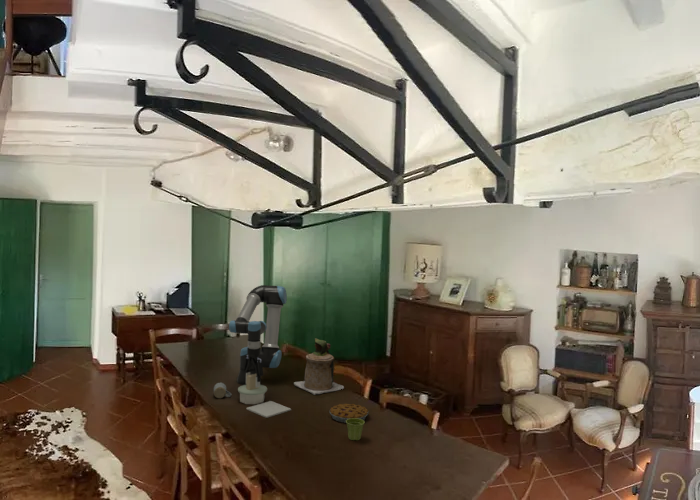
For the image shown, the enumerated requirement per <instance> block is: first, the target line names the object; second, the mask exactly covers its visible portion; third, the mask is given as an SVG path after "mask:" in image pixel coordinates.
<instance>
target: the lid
mask: <svg viewBox="0 0 700 500" xmlns="http://www.w3.org/2000/svg"><path fill="white" fill-rule="evenodd" d="M256 376H257V375H256V374H252V375H248V376H247V383H246V385H243V384H241V385H240V386H238V387H237V391H238V393H239V394H240V393H241V394H245V395H258V394H263V393H266V392H267V391H268V388H267V386H266V385H264V384H260V387H257V388H256V387H255V385H256Z"/></svg>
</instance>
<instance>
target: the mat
mask: <svg viewBox="0 0 700 500" xmlns="http://www.w3.org/2000/svg"><path fill="white" fill-rule="evenodd" d="M246 410H247V411H249V412H251V413H254V414H256V415H259V416H261V417H263V418H265V419H266V418H267V419H268V418H271V417H274V416H277V415H281V414H284V413H287V412H290V411H292V409H291V408H290V407H287V406H284V405H282V404H280V403H277V402H275V401H272V400H269V401H266V402H262V403H258V404H254V405H252V406H248V407H246Z"/></svg>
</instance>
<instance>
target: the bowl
mask: <svg viewBox="0 0 700 500" xmlns="http://www.w3.org/2000/svg"><path fill="white" fill-rule="evenodd" d="M265 393H266V392H265ZM265 393H263V394H258V395H245V394H241V393H239V402H240V403H243V404H244V405H258V404H262V403H264V401H265Z"/></svg>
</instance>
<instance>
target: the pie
mask: <svg viewBox="0 0 700 500" xmlns="http://www.w3.org/2000/svg"><path fill="white" fill-rule="evenodd" d="M329 414H330V415H331V417H332V418H331V419H333V420H335V421H336V422H340V423H344V424H345V423H346V420H347V419H351V418H357V419H361V420H363V421H365V419H366V418H367V416H368V415H369V410H368V409H367V407H365V406H362V405H360V404H355V403H352V404H351V403H350V404H349V403H338V404H337V405H333V407H332V406H331V408H330V409H329ZM346 424H347V423H346Z"/></svg>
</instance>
